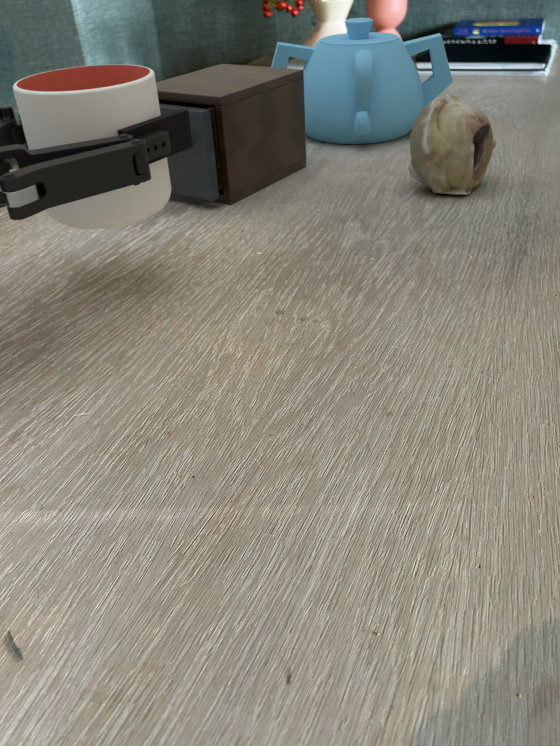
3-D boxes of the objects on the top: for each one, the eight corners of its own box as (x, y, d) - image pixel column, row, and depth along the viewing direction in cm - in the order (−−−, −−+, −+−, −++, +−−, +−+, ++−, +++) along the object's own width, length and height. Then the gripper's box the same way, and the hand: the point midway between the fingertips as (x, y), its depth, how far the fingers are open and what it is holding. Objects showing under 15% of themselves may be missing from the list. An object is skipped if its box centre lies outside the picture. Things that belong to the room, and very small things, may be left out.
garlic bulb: (421, 219, 71) (398, 134, 65) (412, 180, 77) (389, 99, 71) (512, 191, 69) (497, 100, 62) (495, 153, 75) (479, 66, 68)
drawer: (180, 217, 66) (167, 124, 61) (105, 200, 71) (88, 113, 66) (286, 165, 78) (282, 84, 73) (216, 154, 84) (208, 77, 79)
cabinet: (230, 204, 71) (220, 97, 65) (150, 188, 77) (133, 88, 71) (306, 166, 81) (303, 69, 75) (230, 154, 87) (221, 63, 81)
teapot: (453, 126, 92) (462, 12, 84) (357, 159, 82) (358, 34, 74) (351, 107, 105) (351, 7, 97) (257, 134, 95) (249, 24, 87)
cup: (68, 192, 58) (39, 67, 53) (182, 187, 58) (165, 61, 52) (29, 237, 50) (-11, 95, 44) (161, 232, 49) (138, 88, 44)
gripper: (-202, 237, 46) (54, 151, 61) (0, 317, 35) (253, 188, 50) (-256, 124, 42) (33, 61, 57) (-47, 175, 31) (245, 80, 46)
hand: (136, 120), depth 53 cm, fingers closed on cup, 10 cm apart
